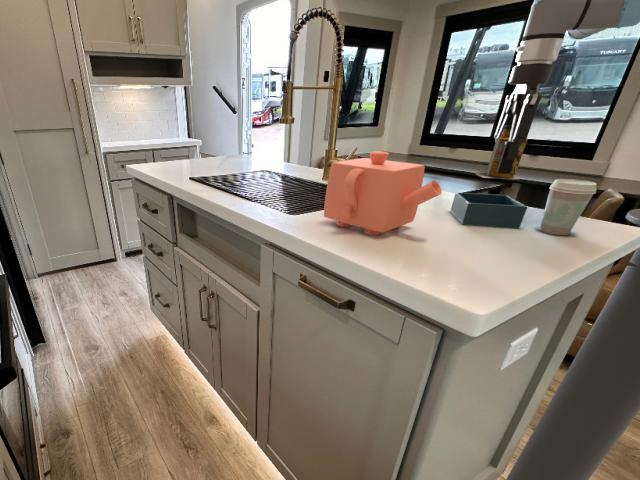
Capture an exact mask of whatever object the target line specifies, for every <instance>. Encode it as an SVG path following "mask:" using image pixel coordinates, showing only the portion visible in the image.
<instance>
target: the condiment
mask: <svg viewBox="0 0 640 480" xmlns="http://www.w3.org/2000/svg"><path fill="white" fill-rule="evenodd" d="M511 128H512V125H506V126H504V129H503V132H502V135H501V137H499V139H498V141H497V144H496V147H495V146H494V147H495V151H494V154H493V157H492V160H491V163H490V166H489V169H487V172H478V171H477V172H475V171H474V172H473V174H475V175H476V176H478V177H480V178H484V179H502V180H521V178H519V177H516V176H515V175H516V173H517V170H518V168H519V165H520V162H521V160H522V157H523V153H524V151H525V149H526V145H527V143H528V140H529V139H528V138H527V139H526V142H525V143H522V144H521V145H519V148H518V151H517V154H516V157H515V160H514V162H513V165H512V168H511V171H510V174H501V173H496V172H497V169H498V166H499V163H500V160H501V157H502V154H503V151H504V148H505V144H504V143H505V142H508V141H509V137H510V132H511Z"/></svg>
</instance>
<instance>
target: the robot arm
mask: <svg viewBox="0 0 640 480" xmlns="http://www.w3.org/2000/svg"><path fill="white" fill-rule="evenodd" d="M639 24H640V0H533V3H532V5H531V8H530V13H529V15H528V19H527V22H526V25H525V29H524V33H523V35H522V39H521V42H520V46H518V47H516V50H515V51H516V52H517V54H516V58H515V63H516V64H517V65H514V67H512V71H511V73H510V77H509V80H508V84H509V85H510V86H511V85H512V86H513V85H514V86H515V87H514V90H513V92H512V93H511V94H509V95H506V97H505V102H504V105H503V109H502V112H501V115H500V118H499V121H498V124H497V126H496V129H495V132H494V135H493V139H495V144H494V146H493V150H492V154H491V156H490V159H489V162H488V165H487V170H488V169H489V166H490V163H491V160H492V157H493V154H494V151H495V147H496V144H497V141H498V139H499V137H501V135H502V132H503V129H504V126H506V125H512V128H511V132H510V137H509V141H508V142H505V143H504V144H505V148H504V151H503V154H502V157H501V160H500V163H499V166H498V169H497V172H496V173H501V174H510V171H511V168H512V165H513V162H514V160H515V157H516V154H517V151H518V148H519V145H521V144H522V143H525V142H526V139H528V136H529V133H530V130H531V127H532V124H533V121H534V118H535V115H536V112H537V109H538V106H539V104H540V102H541V99H542V98H543V94H542V93H538V88H539V85H545V84H547V83H548V82H549V80H550V77H551V75H552V72H553V70H554V64H553V62H556V61H557V59H558V57H559V54H560V51H561V48H562V45H563V43H564V38H565V37H566V38H567V39H570V40H583V39H586V38H589V37H591V36H593V35H595V34H598V33H600V32H603V31H605V30H607V29H617V30H619V29H621V28H629V27H635V26H637V25H639Z"/></svg>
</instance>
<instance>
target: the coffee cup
mask: <svg viewBox="0 0 640 480" xmlns="http://www.w3.org/2000/svg"><path fill="white" fill-rule="evenodd" d="M548 189H549V192H548V195H547V198H546V199H547V200H546V202H545V203H546V204H545V208H544V211H543V214H542V218H541V222H540V225H539V231H540V232H542V233H545V234H550V235H555V236H568V235H569V234H570V233H571V231H572V230H573V228H574V226H575V225H576V223H577V221H578V220H579V218H580V217H581V215H582V213H583V212H584V211H585V209H586V207H587V206H588V204H589V202H590V201H591V199H592V197H593V196H594V195H595V194H597V183H596V182H594V181H589V180H583V179H582V180H581V179H574V178H557V179H555V180H554V181H553V183H551V184H550V187H549V188H548Z"/></svg>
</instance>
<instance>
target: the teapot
mask: <svg viewBox="0 0 640 480" xmlns="http://www.w3.org/2000/svg"><path fill="white" fill-rule="evenodd" d="M389 154H390V153H389V152H387V151H379V150H377V151H370V152H369V157H361V158H360V157H359V158H353V159H346V160H345V159H344V160H340V161H333V162H332V163H331V164H330V168H329V174H328V179H327V184H326V185H327V186H326V190H325V198H324V206H323V217H324V218H327V219H329V220H334V221H337V223H336V224H335V225H336V226H338V227H343V228H344V227H345V228H348V227H350V226H354V227H359V228H363V229H364V234H367V235H368V236H369V235H370V236H377V235H380V233H385V232H389V231H391V230H395V229H397V228H399V227H403V226H405V225H408V224H410V223H413V222H414V220H415V217H416V214H417V211H418V208H419V207H418V206H420V205H421V204H423V203H426V202H427V201H429V200H432V199H434V198H436V197H438V196H440V195H441V194H442V187H441V185H440V184H439V183H438V182H437V181H436V180H432V181H430V182H428V183H427V184H425V185H423V181H424V176H425V169H426V166H425V164H420V163H419V164H418V163H414V162H413V163H411V162H404V161H395V160H388V159H387V158H388V157H389Z"/></svg>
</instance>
